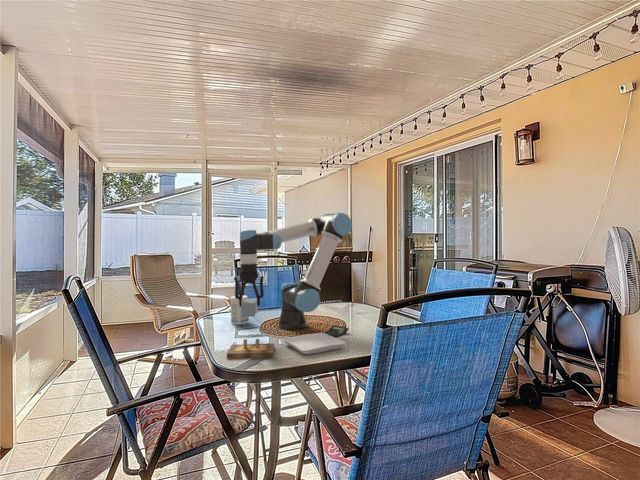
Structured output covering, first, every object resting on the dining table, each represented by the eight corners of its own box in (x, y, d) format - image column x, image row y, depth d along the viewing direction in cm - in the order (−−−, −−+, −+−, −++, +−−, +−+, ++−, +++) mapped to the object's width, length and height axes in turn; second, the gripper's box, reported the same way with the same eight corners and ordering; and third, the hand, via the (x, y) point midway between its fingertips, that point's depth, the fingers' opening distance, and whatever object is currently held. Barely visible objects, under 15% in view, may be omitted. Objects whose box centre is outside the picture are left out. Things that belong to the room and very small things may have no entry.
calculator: (318, 335, 183) (318, 329, 183) (333, 330, 192) (333, 325, 192) (333, 339, 177) (333, 332, 177) (348, 333, 186) (348, 327, 186)
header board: (274, 348, 162) (274, 334, 162) (272, 357, 150) (272, 343, 150) (231, 349, 161) (231, 336, 161) (226, 358, 149) (226, 344, 149)
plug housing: (245, 311, 181) (245, 298, 181) (256, 310, 181) (256, 298, 181) (242, 316, 169) (241, 303, 169) (254, 316, 169) (254, 303, 169)
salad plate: (281, 345, 168) (281, 337, 168) (322, 338, 178) (322, 331, 178) (302, 359, 149) (302, 350, 149) (347, 350, 160) (347, 342, 160)
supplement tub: (248, 320, 214) (248, 294, 214) (249, 324, 205) (248, 297, 205) (230, 321, 212) (230, 295, 212) (230, 325, 203) (230, 298, 203)
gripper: (269, 262, 179) (270, 310, 180) (229, 263, 178) (230, 312, 178) (268, 263, 172) (269, 314, 172) (227, 264, 170) (228, 315, 171)
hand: (249, 312), depth 175 cm, fingers closed on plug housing, 5 cm apart
